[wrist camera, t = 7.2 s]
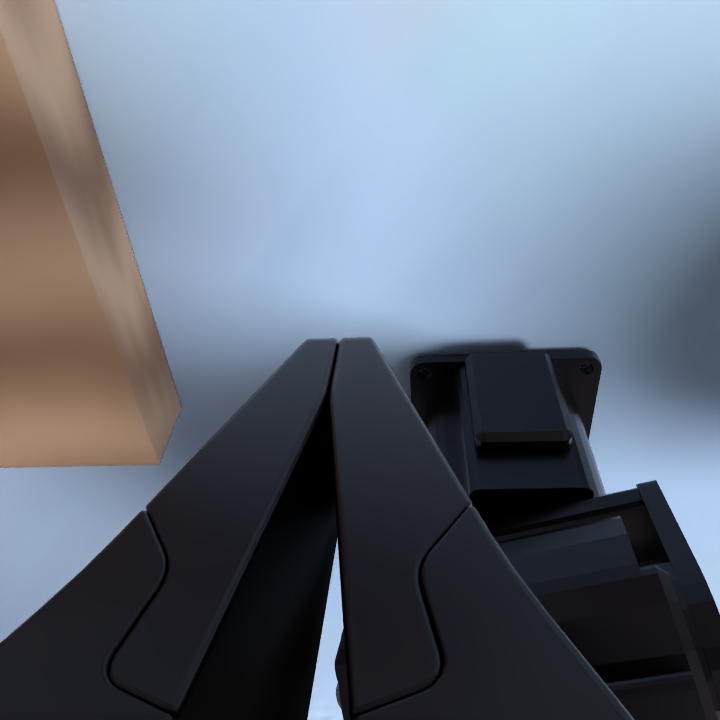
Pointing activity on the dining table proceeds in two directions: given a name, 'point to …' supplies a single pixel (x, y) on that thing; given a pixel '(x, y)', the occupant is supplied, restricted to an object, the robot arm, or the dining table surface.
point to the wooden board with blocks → (68, 274)
